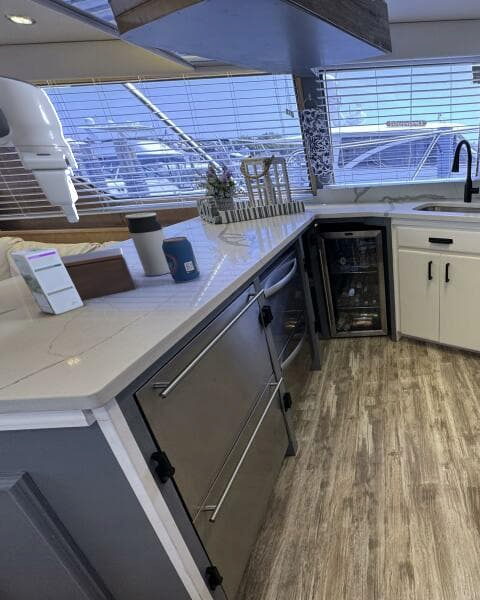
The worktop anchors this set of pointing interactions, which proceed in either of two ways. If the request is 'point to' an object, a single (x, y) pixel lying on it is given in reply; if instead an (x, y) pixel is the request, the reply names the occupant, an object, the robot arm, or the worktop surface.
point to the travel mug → (148, 242)
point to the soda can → (180, 259)
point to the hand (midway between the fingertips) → (74, 221)
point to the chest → (101, 278)
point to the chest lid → (91, 257)
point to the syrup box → (47, 280)
